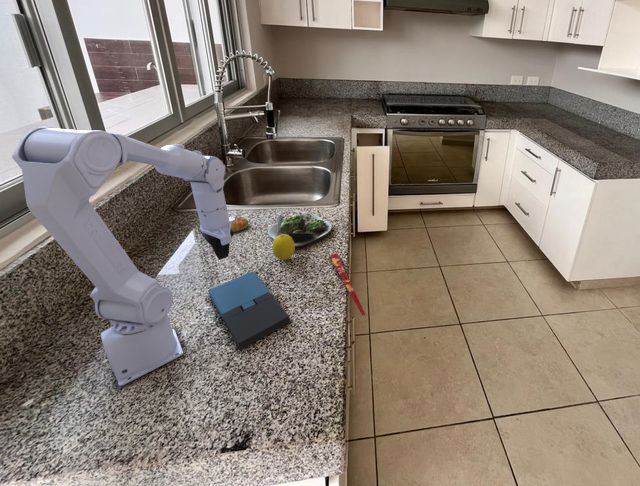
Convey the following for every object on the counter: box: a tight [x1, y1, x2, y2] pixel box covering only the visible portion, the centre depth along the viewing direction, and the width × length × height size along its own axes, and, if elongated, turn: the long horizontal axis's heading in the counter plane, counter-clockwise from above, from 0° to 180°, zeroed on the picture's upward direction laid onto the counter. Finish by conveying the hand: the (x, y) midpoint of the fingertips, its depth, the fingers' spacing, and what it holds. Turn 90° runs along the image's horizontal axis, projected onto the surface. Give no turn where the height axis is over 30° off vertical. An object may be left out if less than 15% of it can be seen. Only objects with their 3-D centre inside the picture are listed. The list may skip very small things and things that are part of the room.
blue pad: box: [208, 270, 271, 319], centre depth 78 cm, size 10×12×2 cm
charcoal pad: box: [221, 292, 291, 351], centre depth 72 cm, size 10×10×2 cm
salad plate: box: [267, 212, 333, 250], centre depth 104 cm, size 19×18×5 cm
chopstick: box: [329, 253, 366, 317], centre depth 84 cm, size 2×24×1 cm, turn 30°
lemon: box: [271, 234, 296, 261], centre depth 91 cm, size 6×6×8 cm
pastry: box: [228, 215, 249, 233], centre depth 105 cm, size 9×7×4 cm
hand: (222, 257), depth 82 cm, fingers closed
